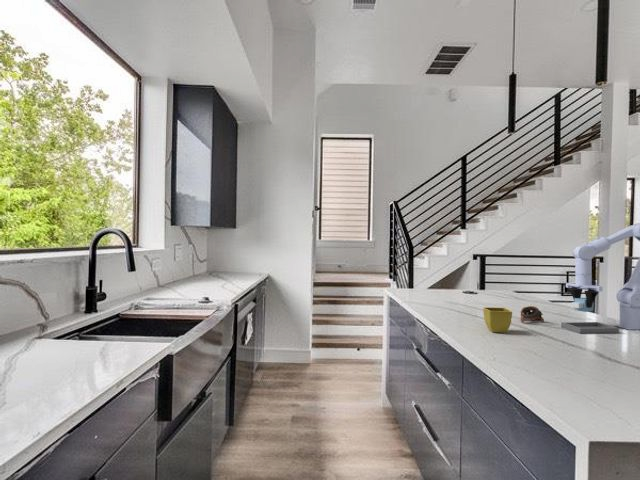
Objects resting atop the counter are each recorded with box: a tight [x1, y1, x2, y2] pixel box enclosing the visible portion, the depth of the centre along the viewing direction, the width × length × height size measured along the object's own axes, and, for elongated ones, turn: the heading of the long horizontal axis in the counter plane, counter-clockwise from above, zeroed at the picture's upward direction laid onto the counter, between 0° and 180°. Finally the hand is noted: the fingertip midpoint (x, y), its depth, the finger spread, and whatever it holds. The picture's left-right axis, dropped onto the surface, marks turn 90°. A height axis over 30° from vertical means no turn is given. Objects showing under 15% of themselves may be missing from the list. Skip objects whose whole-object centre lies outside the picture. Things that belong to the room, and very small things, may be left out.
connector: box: [571, 297, 595, 313], centre depth 171 cm, size 10×4×5 cm, turn 113°
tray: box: [560, 321, 620, 335], centre depth 164 cm, size 16×12×2 cm
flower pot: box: [483, 306, 513, 334], centre depth 162 cm, size 9×9×9 cm
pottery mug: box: [520, 305, 545, 324], centre depth 180 cm, size 12×9×8 cm
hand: (583, 306), depth 171 cm, fingers closed on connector, 4 cm apart
